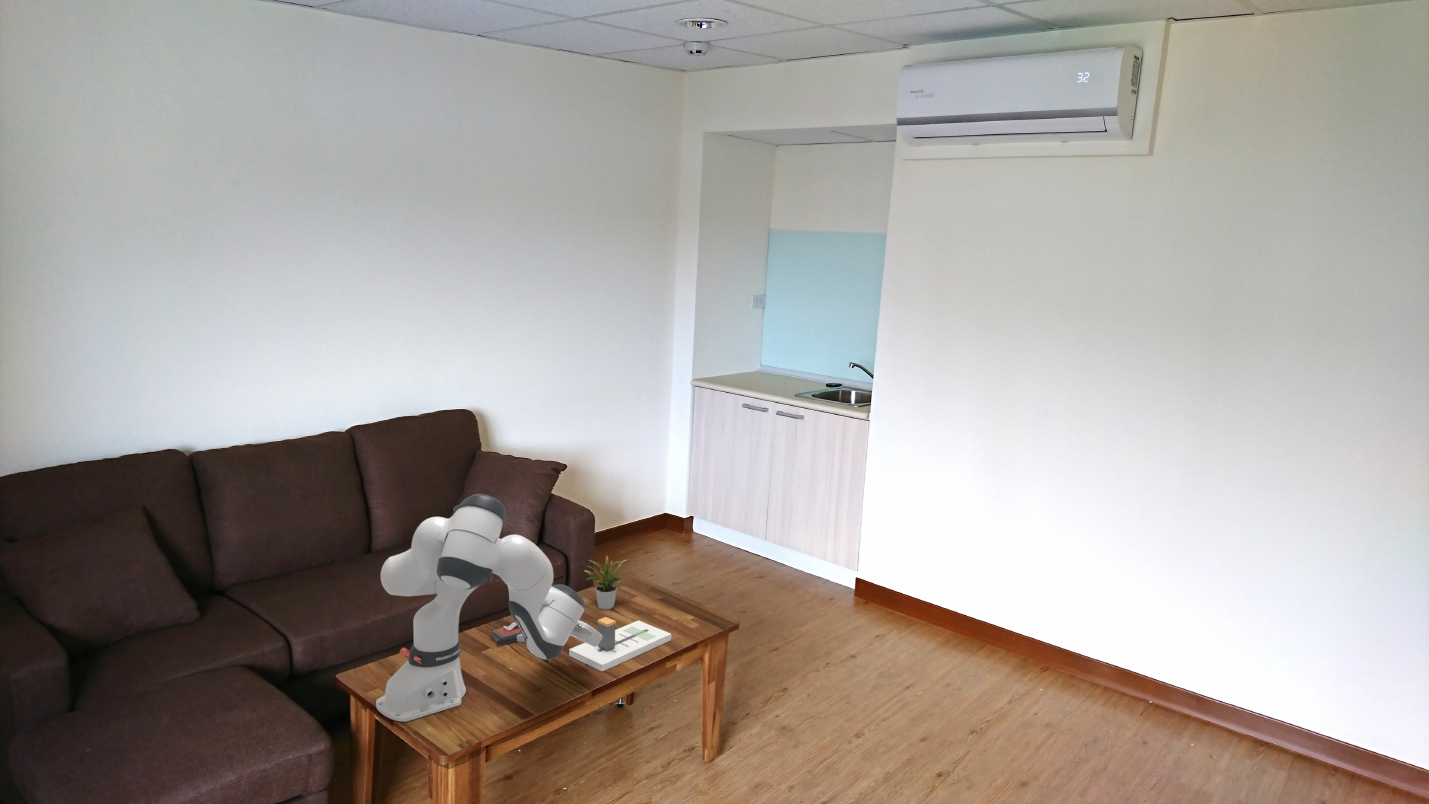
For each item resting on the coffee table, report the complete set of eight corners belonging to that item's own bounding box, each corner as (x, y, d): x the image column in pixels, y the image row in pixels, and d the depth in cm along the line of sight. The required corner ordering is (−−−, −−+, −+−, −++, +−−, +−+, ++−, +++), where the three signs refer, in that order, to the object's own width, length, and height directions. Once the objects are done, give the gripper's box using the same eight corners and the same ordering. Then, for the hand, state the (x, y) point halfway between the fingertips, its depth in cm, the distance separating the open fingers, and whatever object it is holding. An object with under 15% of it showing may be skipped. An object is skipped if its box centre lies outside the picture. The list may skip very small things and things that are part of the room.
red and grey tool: (500, 650, 264) (560, 633, 277) (500, 636, 264) (560, 619, 276) (487, 639, 271) (546, 623, 284) (486, 625, 270) (546, 610, 283)
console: (602, 671, 253) (602, 664, 252) (569, 655, 262) (569, 648, 261) (671, 640, 274) (671, 633, 273) (638, 626, 283) (638, 620, 282)
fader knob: (607, 650, 260) (607, 624, 259) (597, 646, 263) (597, 620, 261) (615, 647, 263) (615, 621, 261) (605, 642, 265) (605, 616, 264)
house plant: (614, 593, 308) (615, 547, 305) (638, 606, 298) (639, 559, 295) (578, 603, 299) (578, 555, 296) (601, 617, 289) (601, 568, 286)
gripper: (590, 617, 240) (617, 640, 249) (542, 596, 253) (569, 619, 262) (577, 638, 237) (605, 661, 246) (529, 616, 251) (557, 638, 260)
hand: (586, 639), depth 254 cm, fingers closed
